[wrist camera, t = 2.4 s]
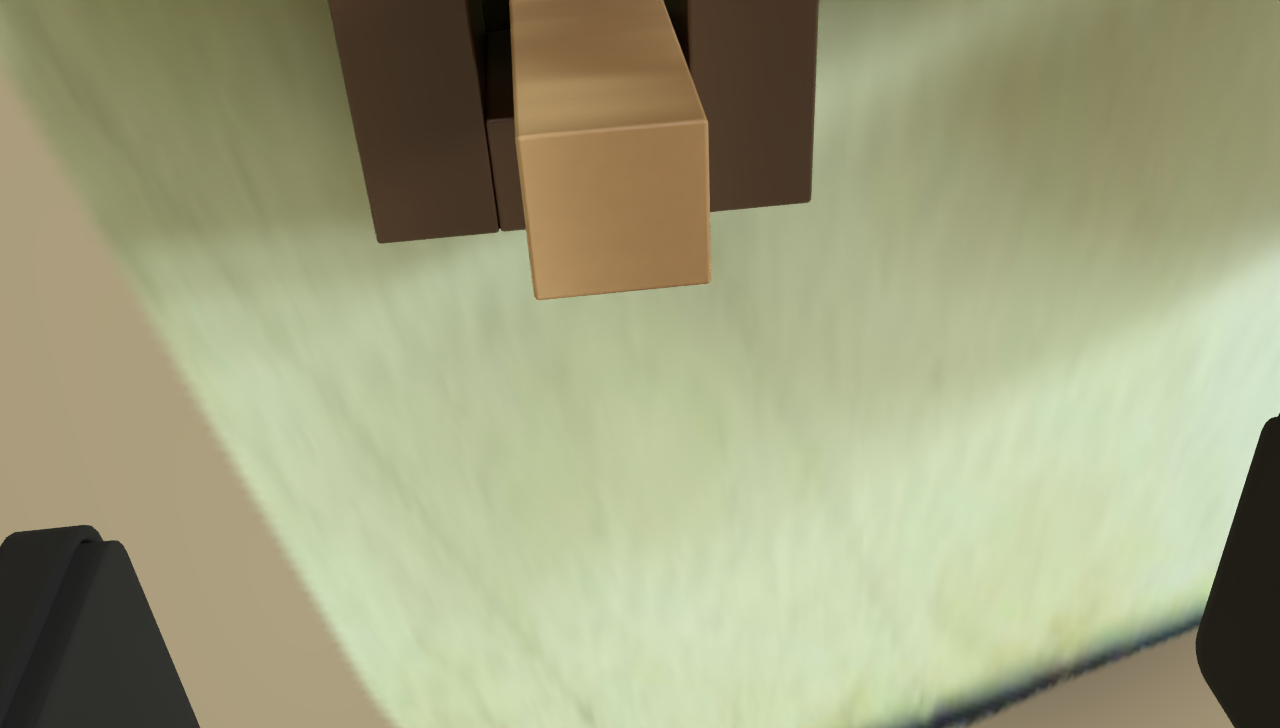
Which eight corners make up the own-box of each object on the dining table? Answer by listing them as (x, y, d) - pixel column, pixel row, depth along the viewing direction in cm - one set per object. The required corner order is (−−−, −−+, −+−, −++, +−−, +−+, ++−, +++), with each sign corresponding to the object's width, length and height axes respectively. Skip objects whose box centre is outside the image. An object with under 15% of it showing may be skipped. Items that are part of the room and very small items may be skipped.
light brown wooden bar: (516, -9, 26) (534, 302, 16) (503, -121, 25) (514, 137, 14) (623, -17, 26) (711, 284, 16) (616, -130, 25) (708, 120, 15)
